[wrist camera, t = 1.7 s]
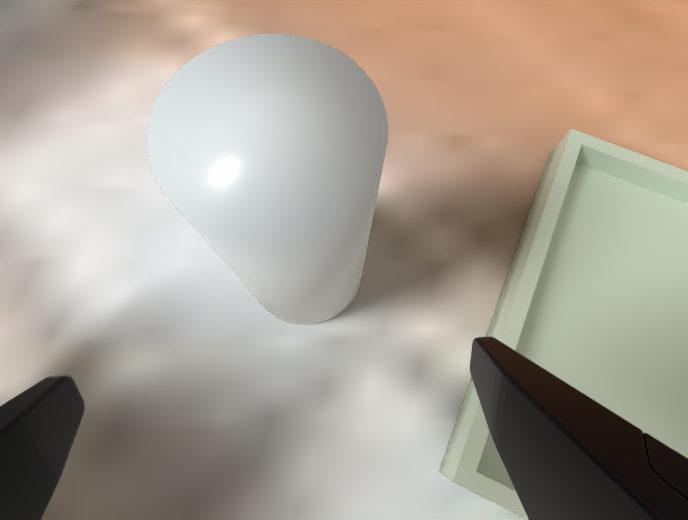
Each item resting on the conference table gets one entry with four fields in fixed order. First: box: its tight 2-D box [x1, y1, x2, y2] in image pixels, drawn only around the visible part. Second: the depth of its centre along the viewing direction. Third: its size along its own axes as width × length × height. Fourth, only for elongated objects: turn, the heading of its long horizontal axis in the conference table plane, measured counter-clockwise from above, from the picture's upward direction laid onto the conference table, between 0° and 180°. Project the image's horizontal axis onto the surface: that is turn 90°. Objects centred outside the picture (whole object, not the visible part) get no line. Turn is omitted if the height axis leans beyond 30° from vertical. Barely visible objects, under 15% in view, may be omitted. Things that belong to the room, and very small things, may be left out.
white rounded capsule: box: [146, 33, 388, 325], centre depth 17 cm, size 6×6×13 cm
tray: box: [439, 129, 688, 520], centre depth 21 cm, size 20×12×2 cm, turn 155°
